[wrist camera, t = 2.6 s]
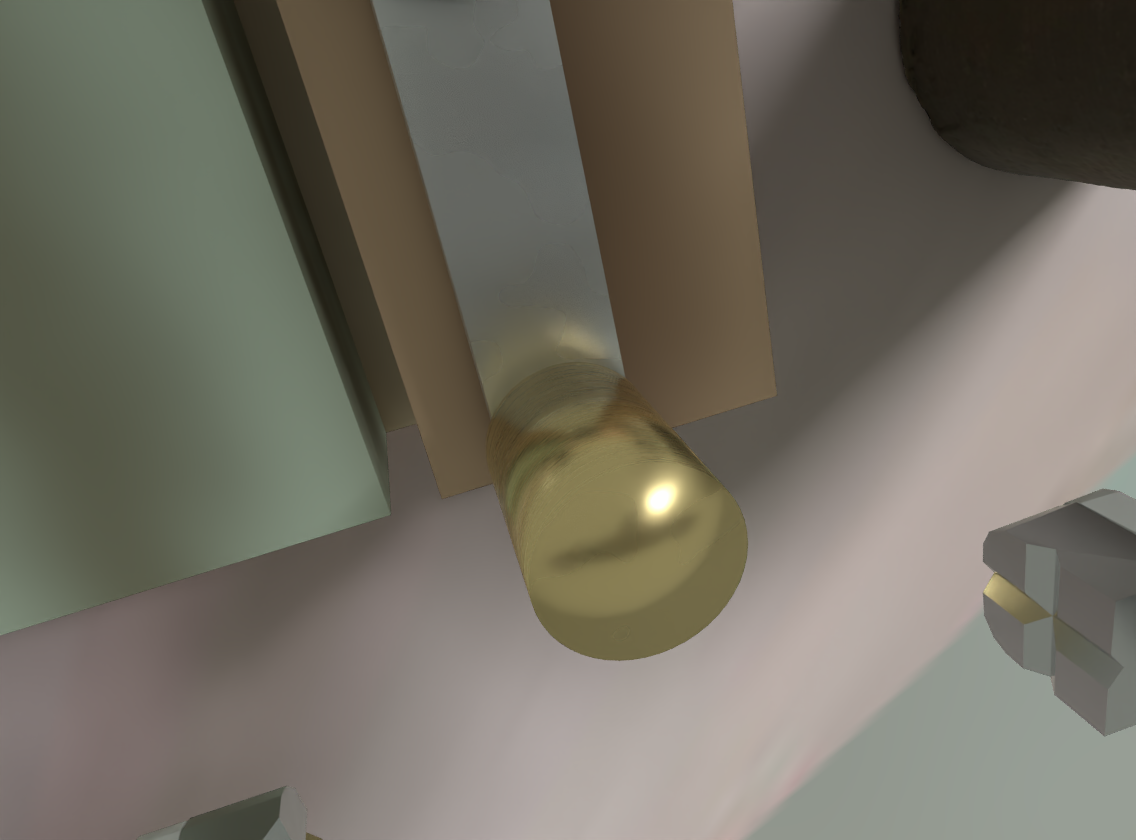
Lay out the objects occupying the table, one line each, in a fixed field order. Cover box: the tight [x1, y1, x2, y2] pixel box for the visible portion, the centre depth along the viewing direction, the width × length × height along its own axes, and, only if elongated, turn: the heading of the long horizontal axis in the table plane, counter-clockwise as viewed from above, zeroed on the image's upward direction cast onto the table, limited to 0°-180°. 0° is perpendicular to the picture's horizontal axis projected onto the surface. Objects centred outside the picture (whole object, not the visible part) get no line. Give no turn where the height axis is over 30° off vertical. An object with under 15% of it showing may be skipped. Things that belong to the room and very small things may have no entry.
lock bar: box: [370, 0, 748, 661], centre depth 11 cm, size 12×4×5 cm, turn 14°
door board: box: [0, 0, 777, 636], centre depth 14 cm, size 17×16×7 cm
